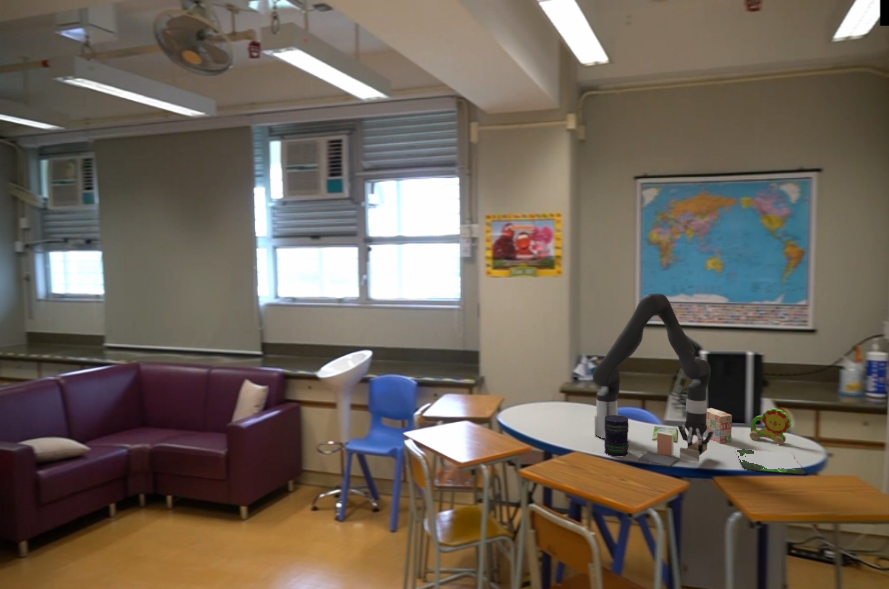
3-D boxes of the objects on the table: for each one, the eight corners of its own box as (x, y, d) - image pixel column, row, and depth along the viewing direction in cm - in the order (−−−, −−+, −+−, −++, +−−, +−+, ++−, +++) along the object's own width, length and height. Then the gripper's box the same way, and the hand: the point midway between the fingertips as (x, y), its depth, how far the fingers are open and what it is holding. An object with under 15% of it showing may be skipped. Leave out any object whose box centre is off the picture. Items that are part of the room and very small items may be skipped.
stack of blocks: (686, 430, 286) (686, 404, 285) (697, 428, 288) (697, 403, 287) (720, 443, 266) (720, 416, 265) (731, 442, 268) (732, 414, 267)
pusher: (694, 447, 252) (694, 437, 252) (712, 450, 248) (712, 441, 247) (679, 458, 239) (679, 448, 239) (697, 462, 235) (698, 452, 234)
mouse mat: (733, 448, 260) (733, 446, 260) (791, 452, 253) (791, 450, 253) (743, 471, 234) (743, 468, 234) (807, 476, 227) (807, 474, 227)
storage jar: (604, 448, 263) (603, 414, 262) (627, 449, 261) (627, 415, 260) (604, 456, 253) (604, 421, 252) (629, 457, 251) (629, 422, 250)
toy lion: (748, 439, 270) (749, 406, 269) (753, 436, 274) (753, 403, 273) (788, 447, 259) (788, 412, 258) (792, 444, 263) (792, 409, 262)
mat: (637, 460, 248) (637, 458, 248) (648, 452, 256) (648, 451, 256) (669, 466, 240) (669, 465, 239) (679, 459, 248) (679, 457, 248)
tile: (657, 453, 255) (657, 432, 254) (659, 452, 256) (659, 431, 256) (671, 456, 251) (671, 435, 250) (673, 455, 252) (673, 434, 252)
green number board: (652, 441, 272) (676, 443, 269) (652, 438, 272) (676, 440, 269) (654, 428, 291) (676, 430, 287) (654, 425, 291) (676, 427, 287)
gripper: (675, 409, 243) (674, 451, 244) (711, 415, 234) (710, 459, 235) (681, 405, 248) (680, 446, 250) (717, 411, 239) (716, 453, 241)
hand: (695, 452), depth 242 cm, fingers closed on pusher, 3 cm apart
